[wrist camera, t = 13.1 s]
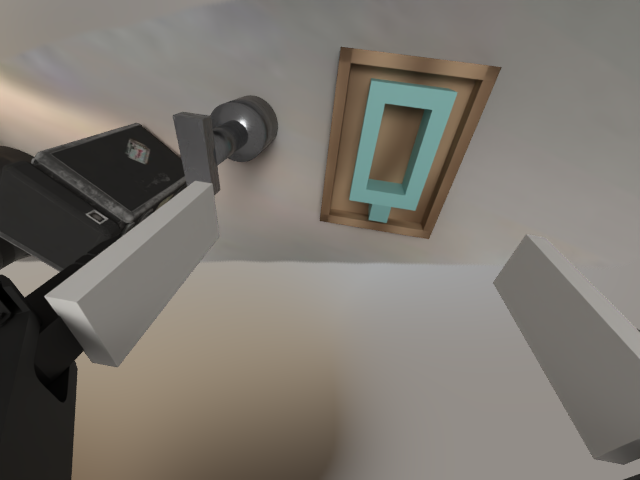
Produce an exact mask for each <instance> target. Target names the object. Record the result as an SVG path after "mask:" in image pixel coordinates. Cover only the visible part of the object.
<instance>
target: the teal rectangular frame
mask: <svg viewBox="0 0 640 480" xmlns="http://www.w3.org/2000/svg"><path fill="white" fill-rule="evenodd" d="M457 93H458V92H456V91H453V90H451V89H449V88H442V87H434V86H427V85H419V84H412V83H404V82H397V81H389V80H382V79H374V78H371V81H370V87H369V92H368V97H367V103H366V108H365V114H364V119H363V124H362V130H361V135H360V140H359V146H358V151H357V157H356V162H355V167H354V173H353V178H352V184H351V189H350V197H349V200H351V201H358V202H364V203H369V207H368V212H369V220H372V221H378V222H384V223H387V220H388V217H389V213H390V210H391V207H395V208H401V209H407V210H413V211H415V210H416V207H417V204H418V202H419V199H420V196H421V193H422V190H423V188H424V185H425V182H426V179H427V177H428V174H429V171H430V168H431V165H432V163H433V160H434V157H435V154H436V151H437V149H438V146H439V143H440V140H441V138H442V135H443V132H444V129H445V126H446V124H447V121H448V118H449V115H450V112H451V110H452V107H453V104H454V101H455V98H456V96H457ZM385 103H386V104H393V105H400V106H407V107H414V108H422V109H425V110H424V113H423V116H422V120H421V123H420V126H419V130H418V133H417V136H416V139H415V143H414V146H413V149H412V153H411V156H410V159H409V162H408V166H407V169H406V172H405V176H404V179H403V182H402V184H399V183H393V182H386V181H380V180H374V179H368V178H369V174H370V169H371V165H372V160H373V156H374V151H375V147H376V142H377V138H378V133H379V129H380V124H381V120H382V115H383V111H384V106H385Z"/></svg>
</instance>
